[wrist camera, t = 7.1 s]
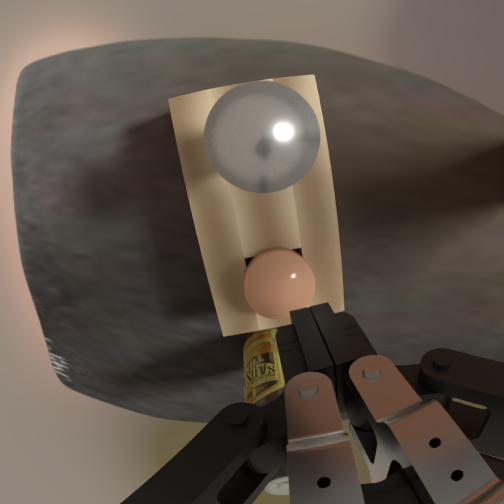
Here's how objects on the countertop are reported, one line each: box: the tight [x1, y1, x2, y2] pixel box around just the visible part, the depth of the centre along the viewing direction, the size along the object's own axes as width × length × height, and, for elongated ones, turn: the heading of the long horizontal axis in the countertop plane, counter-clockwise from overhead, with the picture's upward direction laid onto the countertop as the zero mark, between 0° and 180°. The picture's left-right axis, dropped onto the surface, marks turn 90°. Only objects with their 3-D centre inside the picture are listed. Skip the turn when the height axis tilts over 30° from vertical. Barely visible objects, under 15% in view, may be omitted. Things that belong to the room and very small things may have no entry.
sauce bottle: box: [243, 327, 289, 495], centre depth 27 cm, size 6×6×20 cm
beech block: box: [168, 75, 344, 336], centre depth 28 cm, size 12×22×6 cm, turn 10°
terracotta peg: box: [244, 247, 315, 319], centre depth 29 cm, size 6×6×8 cm
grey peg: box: [204, 81, 320, 193], centre depth 18 cm, size 6×6×8 cm
